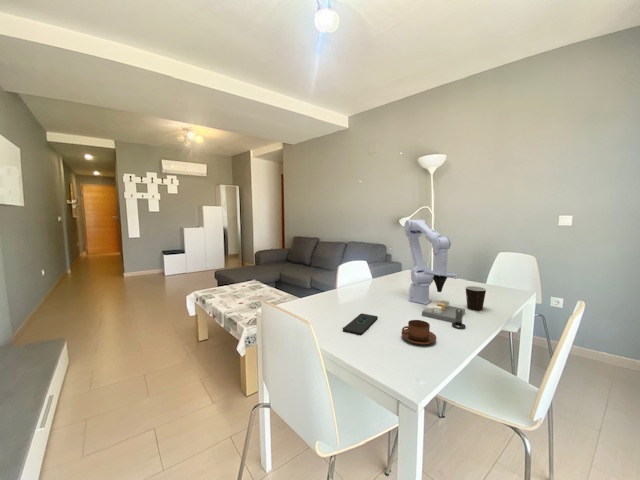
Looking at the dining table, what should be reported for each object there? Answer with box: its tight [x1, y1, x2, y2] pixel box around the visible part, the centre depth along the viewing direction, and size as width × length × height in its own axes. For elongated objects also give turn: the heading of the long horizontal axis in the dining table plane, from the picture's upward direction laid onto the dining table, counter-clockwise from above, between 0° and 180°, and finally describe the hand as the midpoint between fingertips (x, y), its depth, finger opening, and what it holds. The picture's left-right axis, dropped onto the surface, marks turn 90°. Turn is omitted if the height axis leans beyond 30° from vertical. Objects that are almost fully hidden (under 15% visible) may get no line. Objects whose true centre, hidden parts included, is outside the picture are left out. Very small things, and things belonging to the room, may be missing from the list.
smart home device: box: [342, 313, 379, 336], centre depth 115 cm, size 8×2×20 cm
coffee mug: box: [465, 285, 487, 312], centre depth 132 cm, size 12×9×10 cm
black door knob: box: [451, 309, 466, 330], centre depth 112 cm, size 5×5×7 cm
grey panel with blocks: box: [421, 299, 466, 324], centre depth 126 cm, size 14×16×5 cm
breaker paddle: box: [437, 303, 446, 311], centre depth 127 cm, size 3×2×3 cm, turn 50°
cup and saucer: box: [401, 319, 437, 345], centre depth 101 cm, size 12×12×6 cm
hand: (439, 291), depth 130 cm, fingers closed
